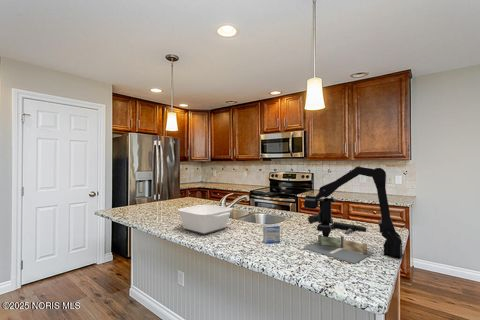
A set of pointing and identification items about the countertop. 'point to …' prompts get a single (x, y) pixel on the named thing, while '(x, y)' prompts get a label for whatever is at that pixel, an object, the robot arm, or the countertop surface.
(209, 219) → the tub
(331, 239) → the folding panel
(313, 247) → the card
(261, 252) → the countertop surface
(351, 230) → the door handle
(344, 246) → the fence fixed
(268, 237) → the medicine box
